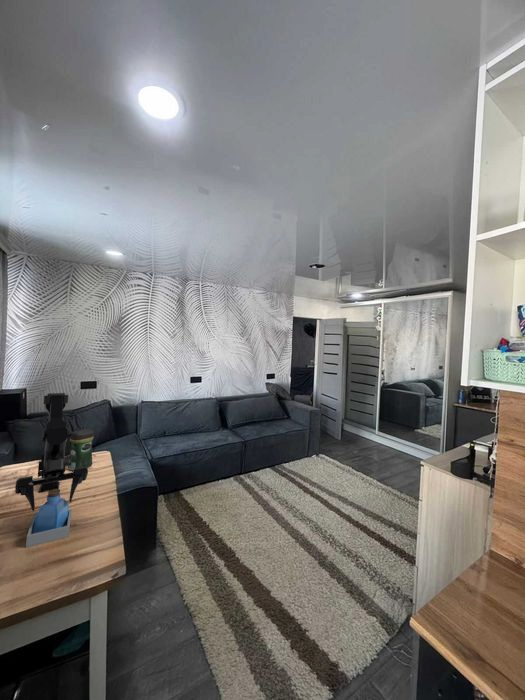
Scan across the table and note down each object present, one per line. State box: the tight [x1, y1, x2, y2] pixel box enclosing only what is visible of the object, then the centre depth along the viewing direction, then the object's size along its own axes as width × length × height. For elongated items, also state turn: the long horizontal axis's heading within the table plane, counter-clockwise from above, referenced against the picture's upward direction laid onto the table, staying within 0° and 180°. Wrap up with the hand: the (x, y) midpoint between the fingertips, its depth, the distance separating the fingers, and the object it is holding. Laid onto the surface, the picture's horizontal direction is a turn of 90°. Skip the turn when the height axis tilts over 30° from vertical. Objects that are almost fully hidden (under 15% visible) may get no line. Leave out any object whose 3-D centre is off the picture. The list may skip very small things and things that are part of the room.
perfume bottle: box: [34, 488, 70, 533], centre depth 86 cm, size 6×6×12 cm
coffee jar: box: [67, 427, 95, 472], centre depth 132 cm, size 10×8×19 cm
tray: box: [25, 509, 72, 549], centre depth 86 cm, size 10×10×3 cm
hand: (52, 506), depth 85 cm, fingers open, 9 cm apart
